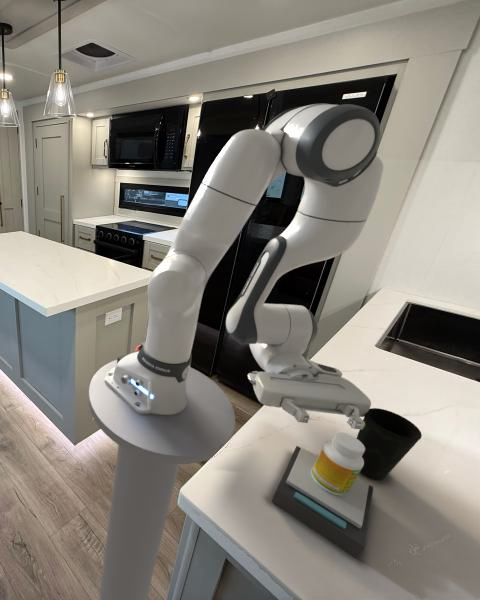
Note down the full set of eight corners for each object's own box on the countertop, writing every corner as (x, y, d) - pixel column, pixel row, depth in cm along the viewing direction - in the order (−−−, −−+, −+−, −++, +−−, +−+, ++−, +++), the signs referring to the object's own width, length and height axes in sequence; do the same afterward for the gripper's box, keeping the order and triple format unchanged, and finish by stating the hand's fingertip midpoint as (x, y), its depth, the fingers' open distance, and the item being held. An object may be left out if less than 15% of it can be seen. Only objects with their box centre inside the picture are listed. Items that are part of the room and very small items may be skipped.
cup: (349, 445, 67) (372, 402, 62) (396, 471, 62) (425, 426, 57) (337, 463, 63) (361, 418, 58) (386, 493, 57) (417, 446, 53)
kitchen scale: (271, 501, 55) (277, 487, 53) (292, 455, 64) (297, 442, 63) (356, 558, 47) (366, 544, 46) (366, 498, 56) (375, 483, 55)
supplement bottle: (344, 503, 51) (368, 462, 47) (306, 480, 55) (326, 440, 51) (350, 483, 55) (373, 443, 51) (314, 463, 58) (333, 424, 54)
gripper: (248, 359, 68) (277, 403, 56) (346, 369, 67) (399, 416, 54) (240, 382, 71) (267, 429, 58) (335, 392, 69) (383, 443, 56)
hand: (331, 423), depth 56 cm, fingers open, 8 cm apart
